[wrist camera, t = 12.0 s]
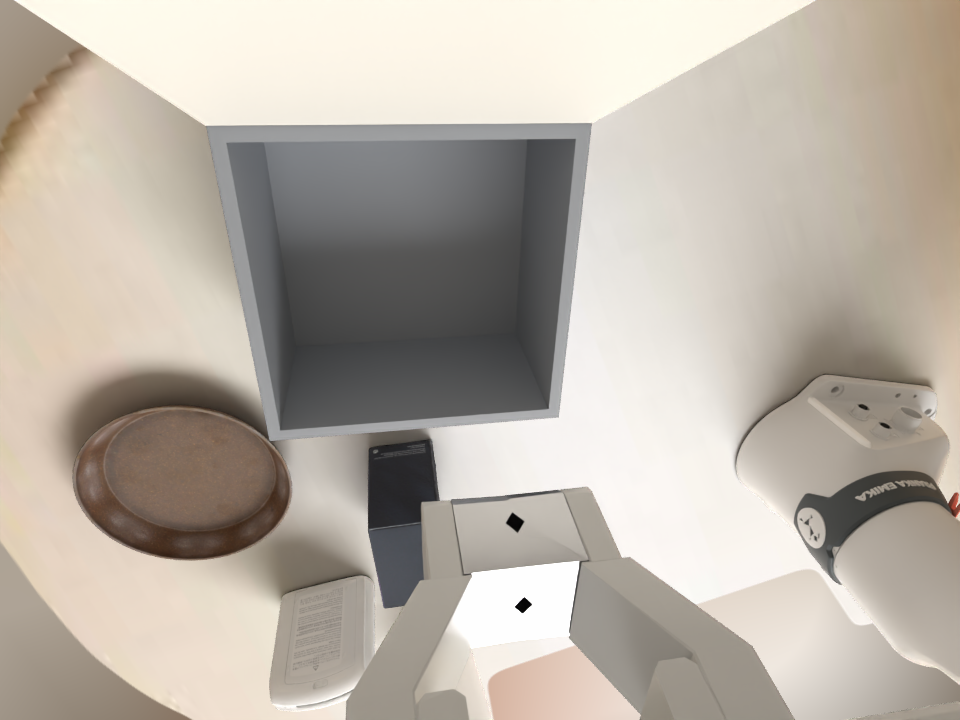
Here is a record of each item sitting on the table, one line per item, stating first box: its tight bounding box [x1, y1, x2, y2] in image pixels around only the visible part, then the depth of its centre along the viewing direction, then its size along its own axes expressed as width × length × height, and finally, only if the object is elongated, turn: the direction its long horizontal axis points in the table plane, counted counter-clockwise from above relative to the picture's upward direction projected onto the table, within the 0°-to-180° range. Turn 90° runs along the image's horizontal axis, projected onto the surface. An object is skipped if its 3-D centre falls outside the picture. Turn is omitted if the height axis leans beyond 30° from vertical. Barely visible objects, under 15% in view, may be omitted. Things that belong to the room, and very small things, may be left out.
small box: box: [368, 440, 439, 608], centre depth 56 cm, size 11×6×10 cm, turn 3°
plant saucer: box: [72, 405, 292, 560], centre depth 54 cm, size 18×18×3 cm
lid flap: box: [15, 0, 816, 126], centre depth 21 cm, size 20×22×1 cm
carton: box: [206, 123, 592, 441], centre depth 42 cm, size 20×20×12 cm
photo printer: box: [269, 575, 375, 711], centre depth 62 cm, size 10×4×12 cm, turn 101°
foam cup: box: [456, 650, 493, 720], centre depth 71 cm, size 10×9×13 cm
